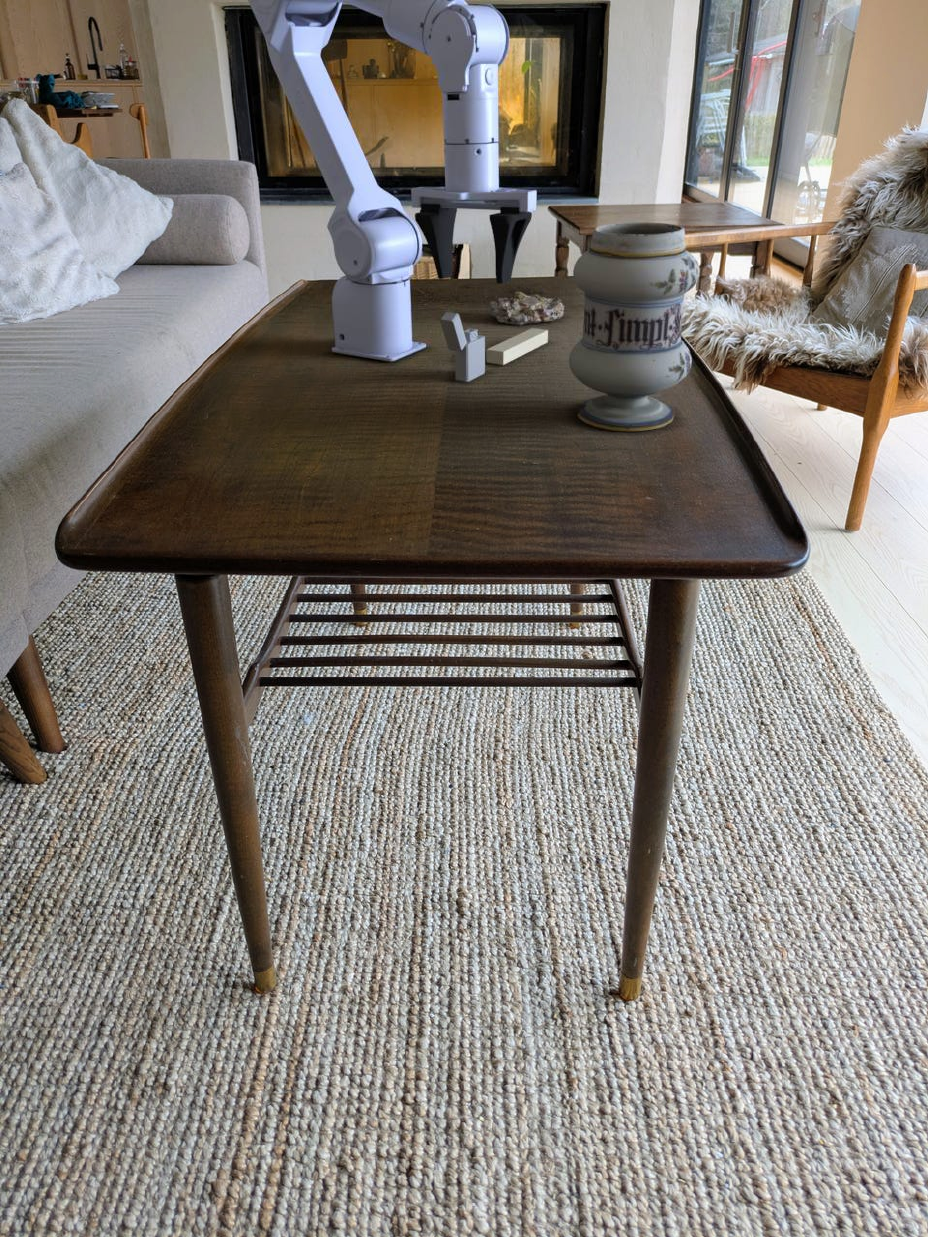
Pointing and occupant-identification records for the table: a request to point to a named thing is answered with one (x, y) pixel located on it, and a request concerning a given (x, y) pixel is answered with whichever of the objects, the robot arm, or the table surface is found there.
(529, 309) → the mineral rock
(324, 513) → the table surface
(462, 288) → the table surface
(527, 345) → the strip
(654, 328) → the apothecary jar
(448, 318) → the lighter
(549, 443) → the table surface
